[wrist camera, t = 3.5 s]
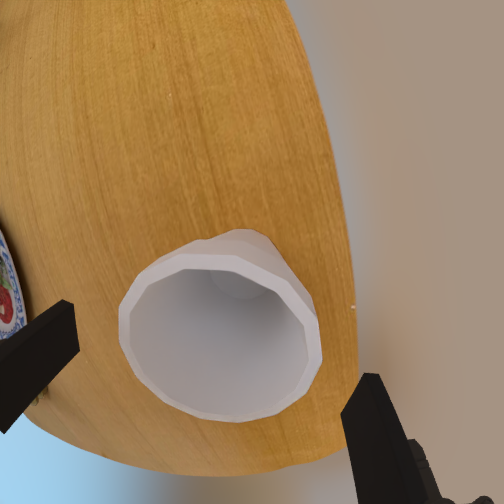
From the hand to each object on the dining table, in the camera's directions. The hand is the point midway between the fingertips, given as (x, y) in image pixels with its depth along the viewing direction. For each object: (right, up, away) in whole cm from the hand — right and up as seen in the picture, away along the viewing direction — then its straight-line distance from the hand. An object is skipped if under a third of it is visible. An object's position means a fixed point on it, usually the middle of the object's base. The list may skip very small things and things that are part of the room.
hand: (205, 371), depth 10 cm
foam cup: (+1, +4, +14) cm, 14 cm away
